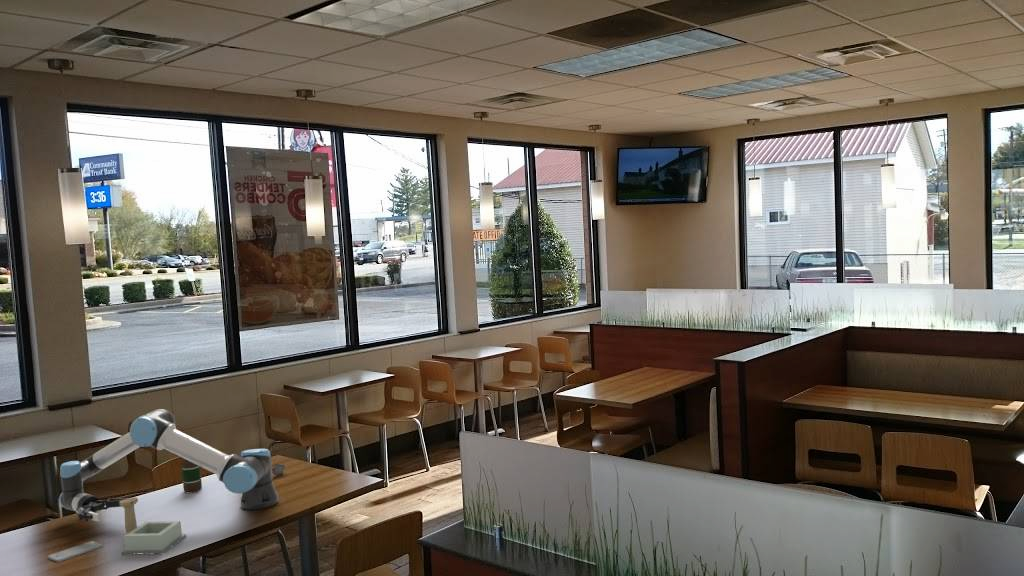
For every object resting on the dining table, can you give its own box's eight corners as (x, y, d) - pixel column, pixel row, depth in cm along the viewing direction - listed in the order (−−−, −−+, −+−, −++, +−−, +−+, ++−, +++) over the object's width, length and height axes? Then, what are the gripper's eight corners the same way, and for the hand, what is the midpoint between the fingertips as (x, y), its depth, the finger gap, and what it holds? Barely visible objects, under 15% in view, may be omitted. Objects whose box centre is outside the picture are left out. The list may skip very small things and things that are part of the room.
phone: (103, 548, 299) (102, 544, 299) (58, 563, 286) (57, 560, 286) (92, 543, 304) (92, 540, 304) (47, 559, 291) (47, 555, 291)
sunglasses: (257, 483, 367) (255, 472, 367) (239, 481, 378) (237, 470, 378) (289, 473, 379) (287, 463, 379) (270, 471, 391) (269, 461, 391)
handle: (120, 540, 304) (116, 501, 303) (137, 534, 309) (133, 496, 308) (126, 542, 301) (123, 503, 300) (143, 537, 306) (139, 498, 305)
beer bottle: (195, 493, 357) (190, 440, 355) (180, 493, 358) (175, 440, 357) (205, 487, 364) (201, 435, 363) (190, 487, 366) (185, 435, 364)
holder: (186, 536, 304) (184, 519, 303) (163, 553, 288) (161, 536, 288) (146, 537, 306) (144, 520, 305) (121, 554, 290) (119, 537, 289)
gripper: (117, 503, 332) (146, 510, 320) (55, 523, 312) (84, 532, 300) (115, 485, 332) (145, 492, 320) (53, 504, 311) (82, 513, 299)
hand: (115, 511), depth 310 cm, fingers open, 13 cm apart
